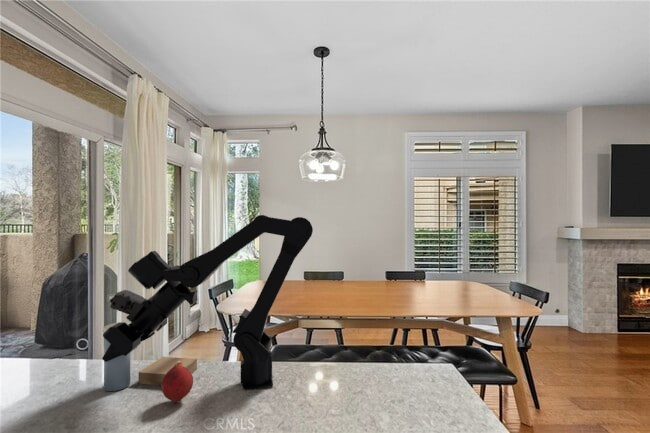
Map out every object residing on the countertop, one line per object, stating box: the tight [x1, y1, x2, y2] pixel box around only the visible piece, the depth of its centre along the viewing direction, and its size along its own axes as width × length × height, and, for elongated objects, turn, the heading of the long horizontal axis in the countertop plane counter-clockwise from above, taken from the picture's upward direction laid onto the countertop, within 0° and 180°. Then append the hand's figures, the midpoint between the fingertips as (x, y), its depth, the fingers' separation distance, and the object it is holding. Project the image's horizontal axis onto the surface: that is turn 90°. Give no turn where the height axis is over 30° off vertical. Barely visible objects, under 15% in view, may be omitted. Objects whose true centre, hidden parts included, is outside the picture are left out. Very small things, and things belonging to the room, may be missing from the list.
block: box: [138, 356, 198, 386], centre depth 81 cm, size 9×9×2 cm
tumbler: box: [102, 321, 132, 392], centre depth 76 cm, size 5×5×13 cm
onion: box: [161, 361, 194, 403], centre depth 70 cm, size 6×6×8 cm
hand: (110, 355), depth 76 cm, fingers closed on tumbler, 5 cm apart
